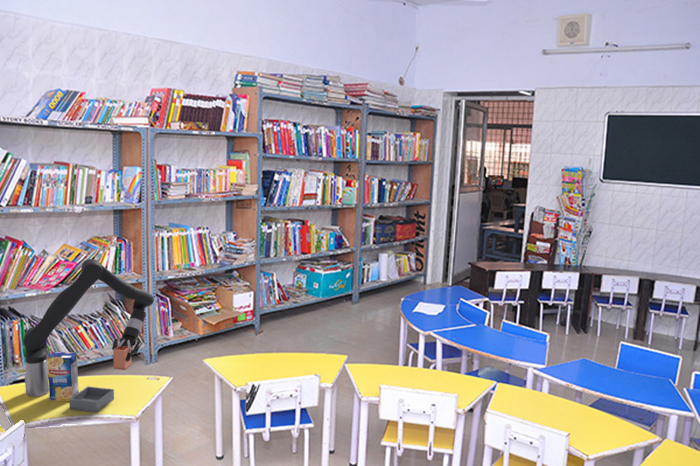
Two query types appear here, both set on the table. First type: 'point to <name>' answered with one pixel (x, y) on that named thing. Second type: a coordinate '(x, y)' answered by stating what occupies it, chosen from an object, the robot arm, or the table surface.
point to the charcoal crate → (91, 399)
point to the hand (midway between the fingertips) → (120, 360)
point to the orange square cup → (121, 358)
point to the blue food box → (62, 375)
